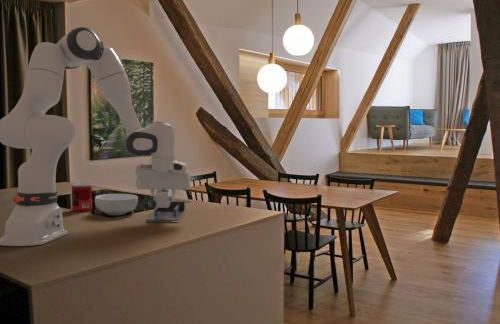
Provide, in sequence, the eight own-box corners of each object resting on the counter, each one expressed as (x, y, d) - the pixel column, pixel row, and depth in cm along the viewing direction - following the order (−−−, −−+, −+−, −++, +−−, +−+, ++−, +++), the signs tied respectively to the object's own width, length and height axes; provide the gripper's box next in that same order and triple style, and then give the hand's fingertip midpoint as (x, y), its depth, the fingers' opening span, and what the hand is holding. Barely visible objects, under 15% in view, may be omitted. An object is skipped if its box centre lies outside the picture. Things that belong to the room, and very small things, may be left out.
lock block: (168, 207, 174) (168, 190, 174) (156, 207, 174) (156, 190, 174) (170, 204, 181) (170, 187, 181) (159, 204, 181) (159, 187, 181)
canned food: (95, 208, 199) (94, 183, 198) (86, 212, 191) (86, 185, 190) (77, 208, 199) (77, 182, 198) (68, 211, 191) (68, 185, 191)
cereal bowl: (122, 219, 179) (122, 200, 178) (86, 215, 184) (85, 198, 183) (145, 211, 195) (145, 194, 194) (112, 208, 200) (111, 192, 199)
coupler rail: (178, 222, 174) (178, 210, 173) (145, 222, 174) (145, 210, 173) (185, 211, 196) (185, 200, 195) (156, 211, 196) (156, 200, 195)
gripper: (133, 165, 173) (134, 202, 174) (189, 165, 173) (189, 202, 175) (137, 163, 179) (137, 199, 180) (190, 164, 180) (190, 199, 181)
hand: (163, 200), depth 178 cm, fingers closed on lock block, 4 cm apart
